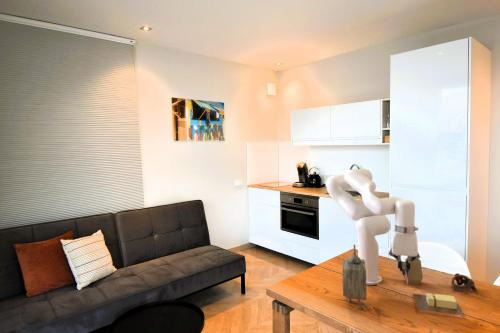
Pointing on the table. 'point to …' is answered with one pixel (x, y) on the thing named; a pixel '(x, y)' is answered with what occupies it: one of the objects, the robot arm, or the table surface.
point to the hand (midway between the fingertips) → (403, 270)
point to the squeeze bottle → (414, 272)
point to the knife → (405, 271)
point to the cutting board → (423, 305)
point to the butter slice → (430, 299)
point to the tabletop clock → (354, 278)
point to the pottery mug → (459, 279)
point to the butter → (445, 301)
